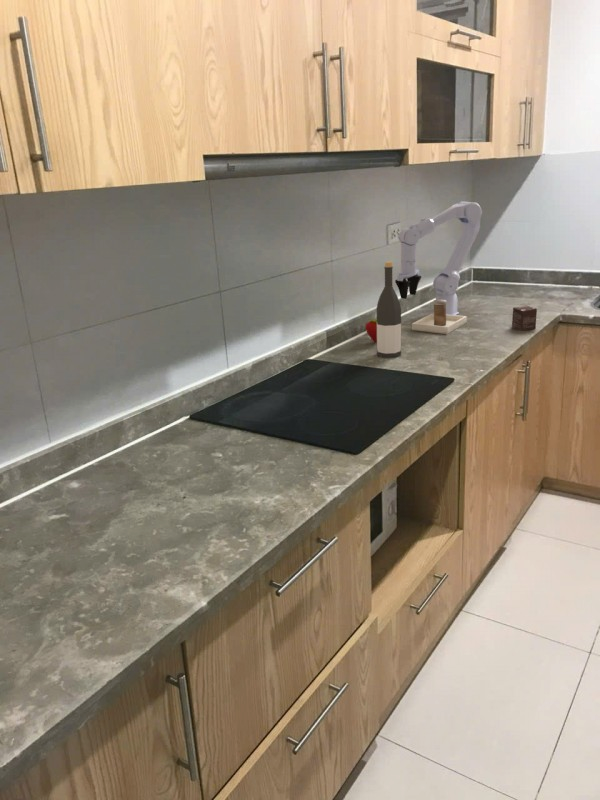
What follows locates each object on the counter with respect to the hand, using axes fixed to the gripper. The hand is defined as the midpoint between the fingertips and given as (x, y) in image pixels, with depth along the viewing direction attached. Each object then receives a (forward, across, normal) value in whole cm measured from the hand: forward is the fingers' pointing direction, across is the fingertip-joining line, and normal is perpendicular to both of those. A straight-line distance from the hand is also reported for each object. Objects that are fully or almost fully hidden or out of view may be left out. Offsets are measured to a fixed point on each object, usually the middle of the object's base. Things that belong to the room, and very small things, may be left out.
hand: (408, 296), depth 249 cm
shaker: (+9, +4, +15) cm, 18 cm away
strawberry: (+10, +33, +4) cm, 35 cm away
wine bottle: (+10, +44, +15) cm, 47 cm away
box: (+10, -6, +43) cm, 44 cm away
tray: (+9, +4, +15) cm, 18 cm away
